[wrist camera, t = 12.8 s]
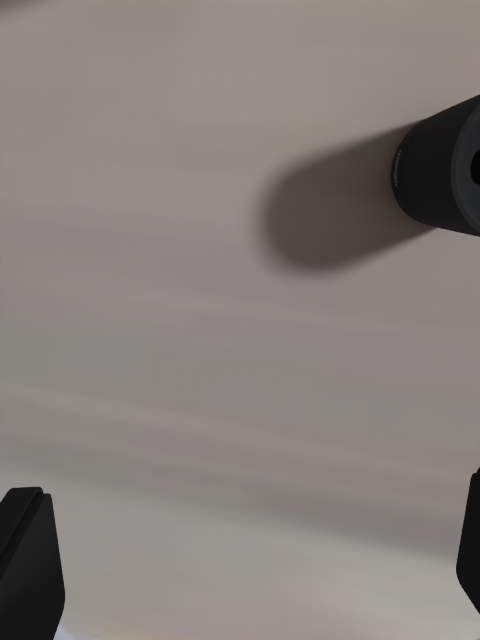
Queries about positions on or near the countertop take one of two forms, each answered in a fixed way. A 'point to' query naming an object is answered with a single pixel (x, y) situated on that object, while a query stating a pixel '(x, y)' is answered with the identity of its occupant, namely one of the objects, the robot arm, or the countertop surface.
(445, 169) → the pen holder
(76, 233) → the countertop surface
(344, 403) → the countertop surface
